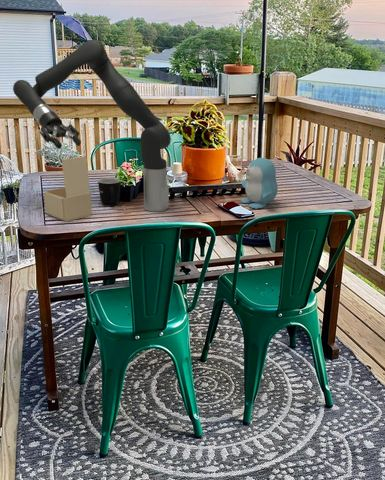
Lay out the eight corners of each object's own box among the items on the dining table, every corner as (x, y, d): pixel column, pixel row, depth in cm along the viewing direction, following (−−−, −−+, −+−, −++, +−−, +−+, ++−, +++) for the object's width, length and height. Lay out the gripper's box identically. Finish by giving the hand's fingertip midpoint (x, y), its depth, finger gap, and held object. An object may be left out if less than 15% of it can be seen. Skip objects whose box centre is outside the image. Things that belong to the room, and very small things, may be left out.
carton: (44, 213, 194) (42, 191, 191) (71, 206, 203) (70, 185, 200) (64, 222, 185) (63, 198, 182) (93, 214, 194) (91, 192, 191)
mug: (97, 201, 210) (96, 178, 207) (118, 200, 213) (117, 177, 210) (102, 210, 200) (101, 185, 196) (124, 208, 203) (123, 184, 199)
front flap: (61, 159, 178) (62, 159, 178) (85, 156, 185) (86, 156, 185) (66, 197, 182) (66, 197, 182) (89, 192, 190) (90, 192, 189)
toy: (232, 198, 220) (235, 153, 213) (260, 195, 225) (264, 152, 218) (257, 213, 200) (261, 164, 192) (288, 210, 204) (292, 162, 197)
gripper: (33, 111, 182) (56, 139, 177) (65, 109, 193) (88, 135, 187) (28, 128, 187) (51, 155, 182) (60, 124, 197) (82, 151, 192)
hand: (70, 145), depth 185 cm, fingers open, 8 cm apart
